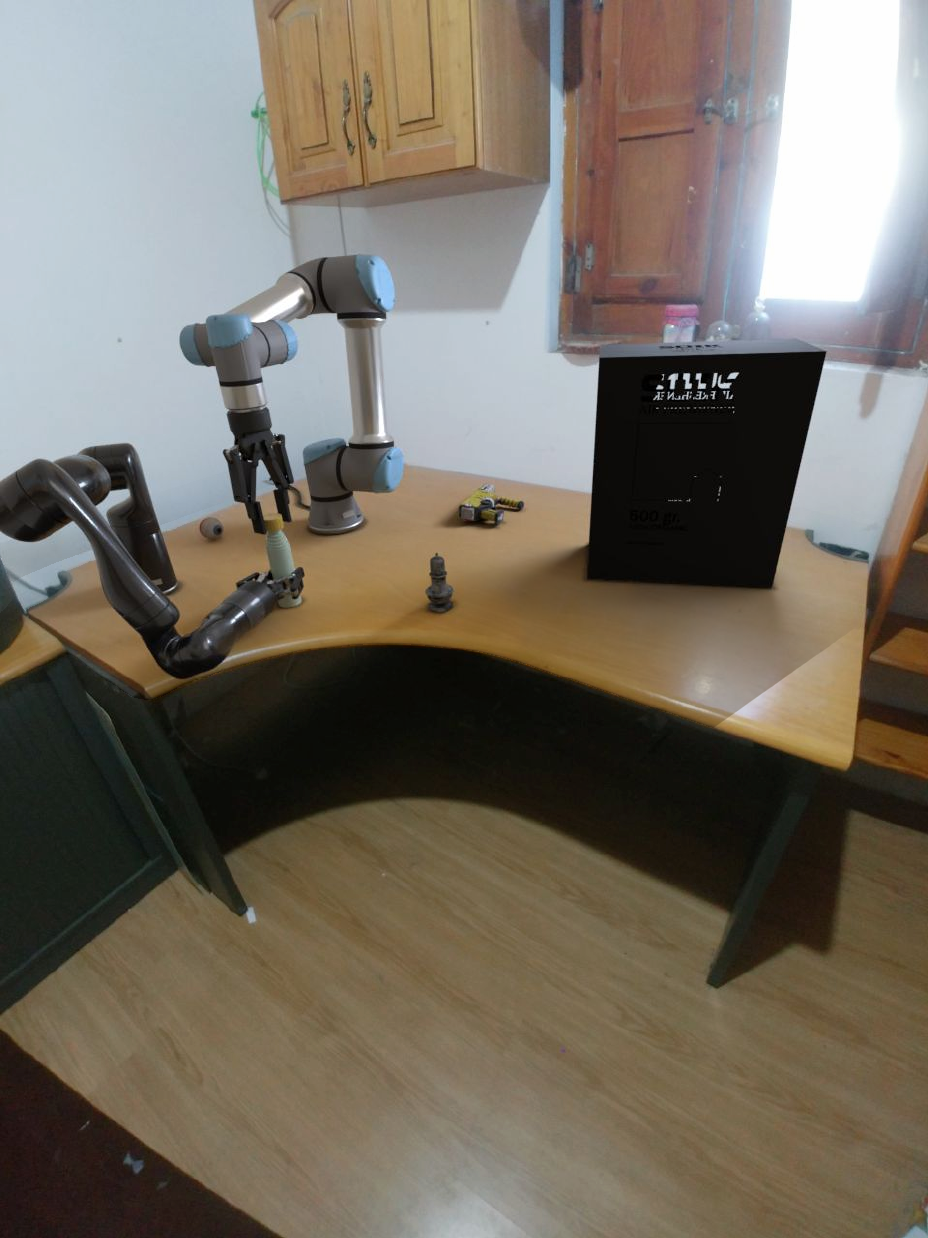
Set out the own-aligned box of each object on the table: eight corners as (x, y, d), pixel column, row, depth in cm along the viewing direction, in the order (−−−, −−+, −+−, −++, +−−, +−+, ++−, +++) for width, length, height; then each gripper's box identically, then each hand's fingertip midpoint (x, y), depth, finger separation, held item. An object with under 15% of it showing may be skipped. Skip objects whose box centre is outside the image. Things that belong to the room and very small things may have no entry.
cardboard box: (752, 548, 142) (795, 338, 119) (772, 587, 124) (826, 351, 102) (589, 543, 149) (600, 344, 127) (586, 579, 132) (599, 357, 110)
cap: (284, 529, 121) (282, 518, 119) (263, 533, 119) (261, 521, 118) (283, 522, 124) (280, 511, 123) (262, 526, 123) (260, 514, 122)
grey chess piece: (451, 613, 122) (447, 559, 116) (423, 611, 123) (418, 558, 117) (457, 599, 127) (454, 547, 121) (430, 598, 128) (425, 546, 122)
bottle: (274, 604, 130) (254, 520, 120) (291, 595, 133) (273, 513, 124) (289, 609, 127) (270, 524, 118) (306, 600, 131) (288, 517, 121)
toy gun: (532, 488, 178) (484, 481, 182) (510, 513, 158) (457, 504, 162) (530, 504, 181) (483, 496, 185) (509, 529, 161) (456, 520, 165)
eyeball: (213, 544, 161) (207, 523, 158) (198, 540, 164) (191, 520, 161) (231, 536, 165) (225, 516, 162) (216, 533, 168) (210, 512, 165)
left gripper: (275, 593, 112) (317, 555, 126) (209, 587, 115) (257, 551, 129) (283, 628, 115) (323, 587, 129) (219, 621, 119) (264, 583, 133)
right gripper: (270, 397, 119) (292, 509, 130) (189, 418, 105) (223, 541, 116) (298, 399, 116) (319, 513, 127) (219, 420, 101) (251, 547, 113)
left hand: (290, 570), depth 129 cm, fingers closed on bottle, 4 cm apart
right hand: (273, 526), depth 122 cm, fingers open, 6 cm apart
